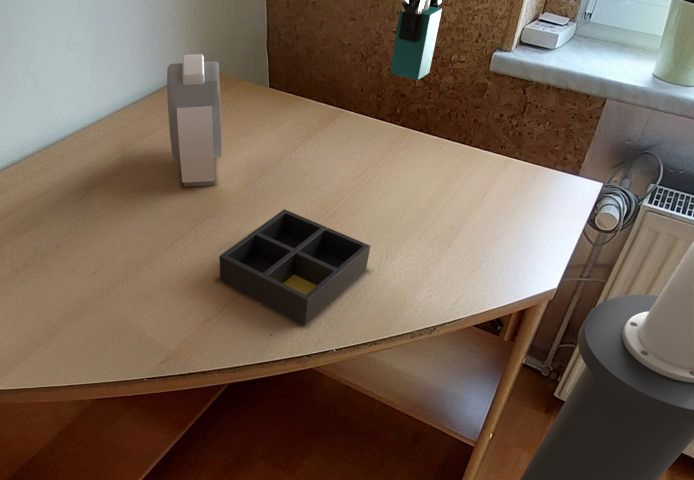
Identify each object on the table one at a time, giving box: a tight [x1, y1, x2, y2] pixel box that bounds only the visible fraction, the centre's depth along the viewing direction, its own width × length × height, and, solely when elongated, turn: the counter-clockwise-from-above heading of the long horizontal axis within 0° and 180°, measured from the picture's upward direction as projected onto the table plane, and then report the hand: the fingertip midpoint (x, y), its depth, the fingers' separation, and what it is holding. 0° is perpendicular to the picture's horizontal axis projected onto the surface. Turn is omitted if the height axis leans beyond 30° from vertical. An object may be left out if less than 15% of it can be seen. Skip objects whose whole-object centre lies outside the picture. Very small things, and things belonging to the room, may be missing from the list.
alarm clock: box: [166, 53, 223, 187], centre depth 108 cm, size 18×8×20 cm, turn 0°
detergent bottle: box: [389, 0, 443, 81], centre depth 96 cm, size 5×4×11 cm
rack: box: [218, 209, 371, 326], centre depth 90 cm, size 15×15×5 cm
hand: (416, 34), depth 95 cm, fingers closed on detergent bottle, 3 cm apart
